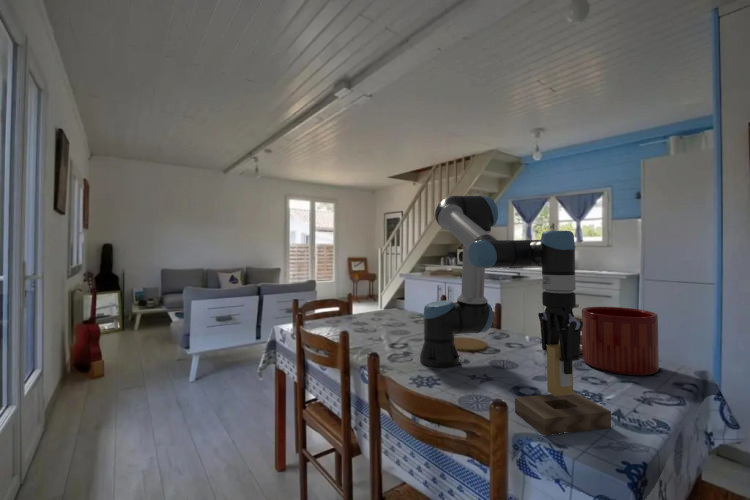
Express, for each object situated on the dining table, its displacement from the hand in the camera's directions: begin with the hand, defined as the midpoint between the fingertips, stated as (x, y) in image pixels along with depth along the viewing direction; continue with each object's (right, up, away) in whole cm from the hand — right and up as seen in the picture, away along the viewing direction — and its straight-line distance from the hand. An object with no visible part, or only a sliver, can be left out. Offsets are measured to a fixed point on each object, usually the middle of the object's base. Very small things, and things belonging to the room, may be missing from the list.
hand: (560, 382), depth 88 cm
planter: (+43, -9, +39) cm, 59 cm away
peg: (0, -3, 0) cm, 3 cm away
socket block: (0, -9, 0) cm, 9 cm away
